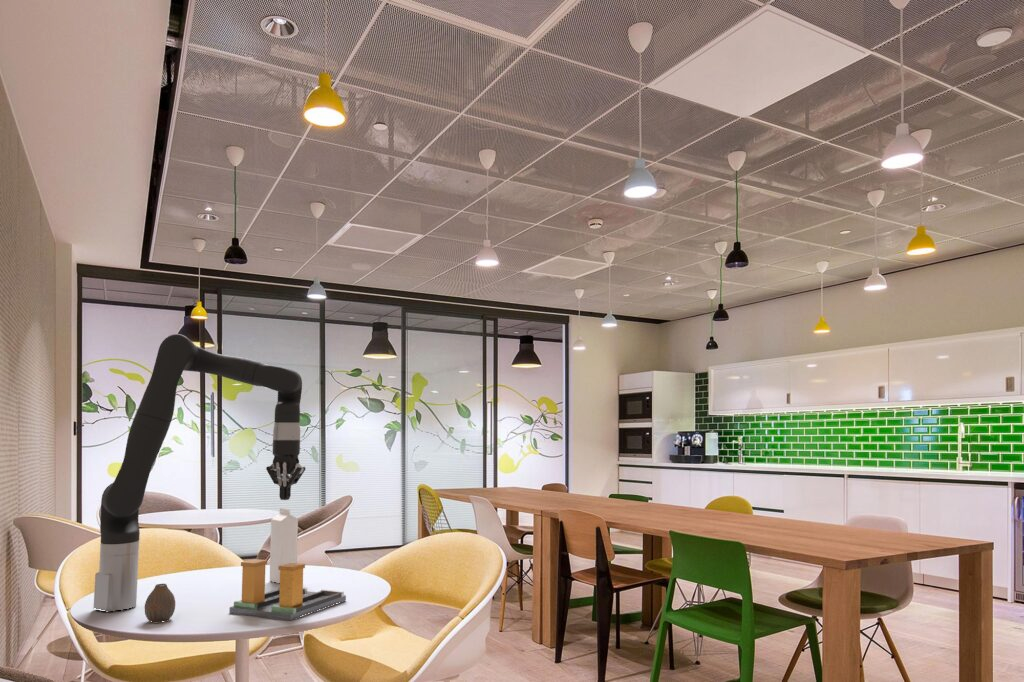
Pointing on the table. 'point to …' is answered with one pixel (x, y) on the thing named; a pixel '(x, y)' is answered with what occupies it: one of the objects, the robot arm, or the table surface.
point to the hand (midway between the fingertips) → (284, 499)
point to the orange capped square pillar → (253, 580)
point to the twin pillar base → (289, 598)
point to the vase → (160, 604)
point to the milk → (283, 542)
